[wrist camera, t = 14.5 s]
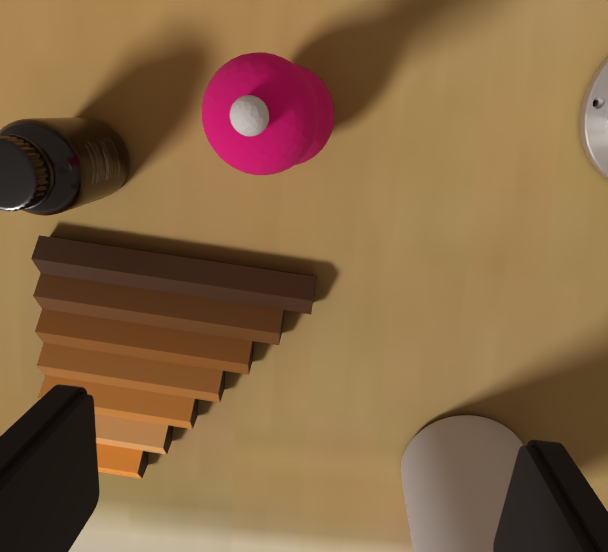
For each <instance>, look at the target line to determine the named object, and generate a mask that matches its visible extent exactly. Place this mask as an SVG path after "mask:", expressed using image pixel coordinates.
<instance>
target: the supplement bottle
mask: <svg viewBox="0 0 608 552" xmlns="http://www.w3.org/2000/svg"><path fill="white" fill-rule="evenodd" d="M128 170H129V157H128V153H127V149H126V147H125V144H124V142H123V141H122V139H121V138H120V136H119V135H118V134H117V133H116V132H115V131H114V130H113V129H112V128H111V127H110V126H108V125H107V124H105V123H103V122H101V121H99V120H96V119H92V118H34V119H22V120H17V121H14V122H12V123H10V124H8V125H6V126H5V127H4V128H2V129H1V130H0V210H5V211H18V210H23V211H26V212H28V213H32V214H36V215H53V214H58V213H61V212H64V211H67V210H70V209H73V208H76V207H79V206H81V205H84V204H87V203H90V202H93V201H96V200H99V199H101V198H104V197H106V196H109V195H111V194H113V193H114V192H116V191H117V190H118V189H119V188H120V187H121V186H122V184H123V183H124V181H125V179H126V177H127V174H128Z"/></svg>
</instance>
